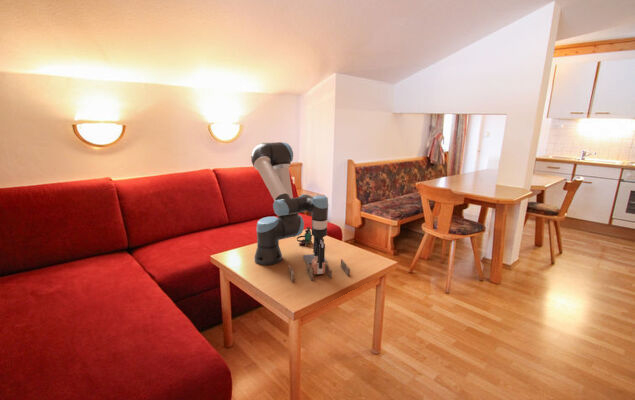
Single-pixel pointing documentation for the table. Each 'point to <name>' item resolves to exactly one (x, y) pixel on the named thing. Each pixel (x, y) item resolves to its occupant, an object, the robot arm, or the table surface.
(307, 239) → the binoculars
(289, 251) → the table surface
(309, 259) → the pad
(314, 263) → the letter cube
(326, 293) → the table surface
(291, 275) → the bay rack
